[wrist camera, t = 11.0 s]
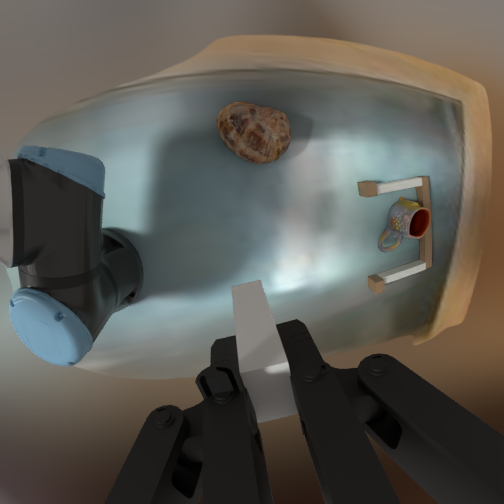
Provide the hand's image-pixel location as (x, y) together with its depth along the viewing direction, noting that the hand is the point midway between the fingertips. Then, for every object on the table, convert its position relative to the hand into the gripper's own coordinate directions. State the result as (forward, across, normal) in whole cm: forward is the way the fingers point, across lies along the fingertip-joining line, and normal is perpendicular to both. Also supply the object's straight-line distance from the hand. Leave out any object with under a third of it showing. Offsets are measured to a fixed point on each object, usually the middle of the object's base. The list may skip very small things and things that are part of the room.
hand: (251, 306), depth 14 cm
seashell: (+33, +6, +12) cm, 35 cm away
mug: (+32, +29, -9) cm, 44 cm away
